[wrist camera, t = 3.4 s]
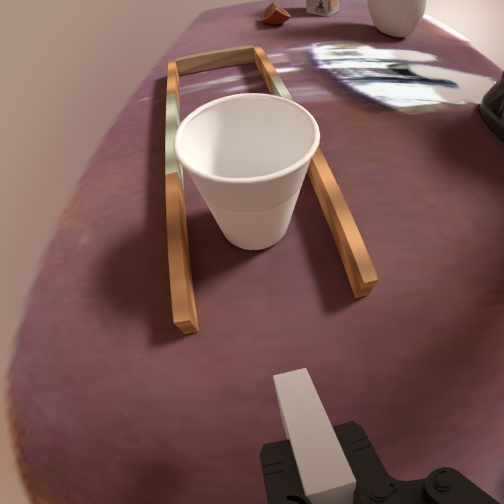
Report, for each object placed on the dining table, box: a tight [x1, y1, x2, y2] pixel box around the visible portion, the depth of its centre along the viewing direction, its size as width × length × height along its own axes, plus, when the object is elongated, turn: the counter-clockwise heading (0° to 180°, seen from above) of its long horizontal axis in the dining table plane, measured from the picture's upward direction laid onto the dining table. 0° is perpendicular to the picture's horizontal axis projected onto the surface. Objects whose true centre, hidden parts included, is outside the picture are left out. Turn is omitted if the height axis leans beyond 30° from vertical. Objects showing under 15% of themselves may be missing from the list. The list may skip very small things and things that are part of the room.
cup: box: [173, 93, 320, 250], centre depth 25 cm, size 10×10×11 cm
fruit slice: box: [261, 2, 291, 25], centre depth 56 cm, size 8×7×5 cm
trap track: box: [165, 45, 378, 334], centre depth 35 cm, size 44×15×3 cm, turn 11°
